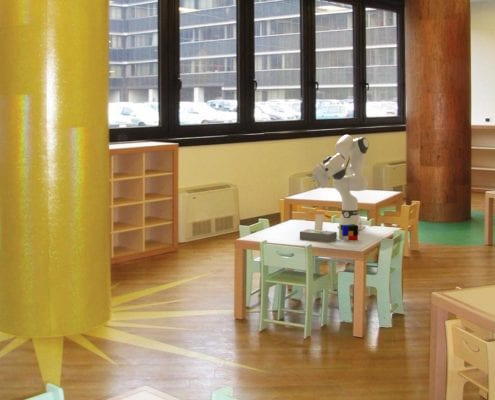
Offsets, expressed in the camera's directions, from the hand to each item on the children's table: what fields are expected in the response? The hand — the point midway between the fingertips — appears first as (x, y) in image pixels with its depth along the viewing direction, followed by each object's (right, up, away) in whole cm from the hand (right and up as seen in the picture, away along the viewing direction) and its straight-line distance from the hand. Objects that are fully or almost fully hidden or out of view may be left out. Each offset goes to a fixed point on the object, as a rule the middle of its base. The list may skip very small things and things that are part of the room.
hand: (312, 184), depth 580 cm
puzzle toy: (+24, -38, -13) cm, 46 cm away
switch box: (+3, -37, -12) cm, 39 cm away
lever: (+3, -32, -13) cm, 35 cm away
